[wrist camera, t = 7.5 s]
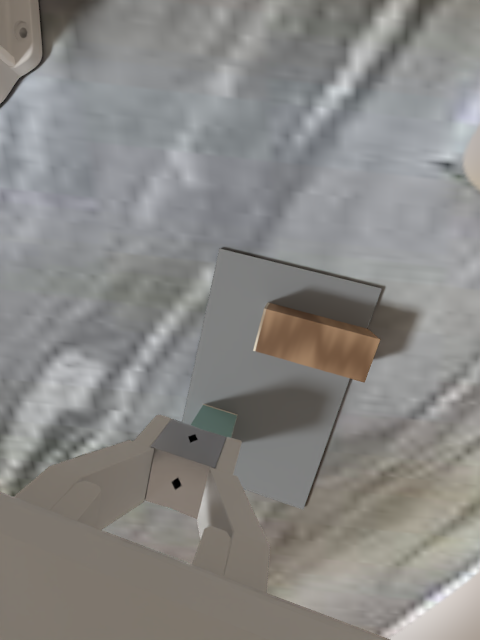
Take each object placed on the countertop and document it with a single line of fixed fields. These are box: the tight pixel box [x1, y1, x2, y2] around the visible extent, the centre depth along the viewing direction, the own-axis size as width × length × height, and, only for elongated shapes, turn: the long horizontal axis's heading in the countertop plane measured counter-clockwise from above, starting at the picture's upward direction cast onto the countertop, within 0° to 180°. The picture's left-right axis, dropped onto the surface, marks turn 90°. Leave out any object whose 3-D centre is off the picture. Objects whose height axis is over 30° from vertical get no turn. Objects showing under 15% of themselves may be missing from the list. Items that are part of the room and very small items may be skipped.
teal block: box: [167, 404, 237, 511], centre depth 28 cm, size 4×4×10 cm
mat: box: [182, 248, 381, 509], centre depth 31 cm, size 26×16×1 cm, turn 166°
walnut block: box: [253, 303, 380, 382], centre depth 27 cm, size 4×4×10 cm
